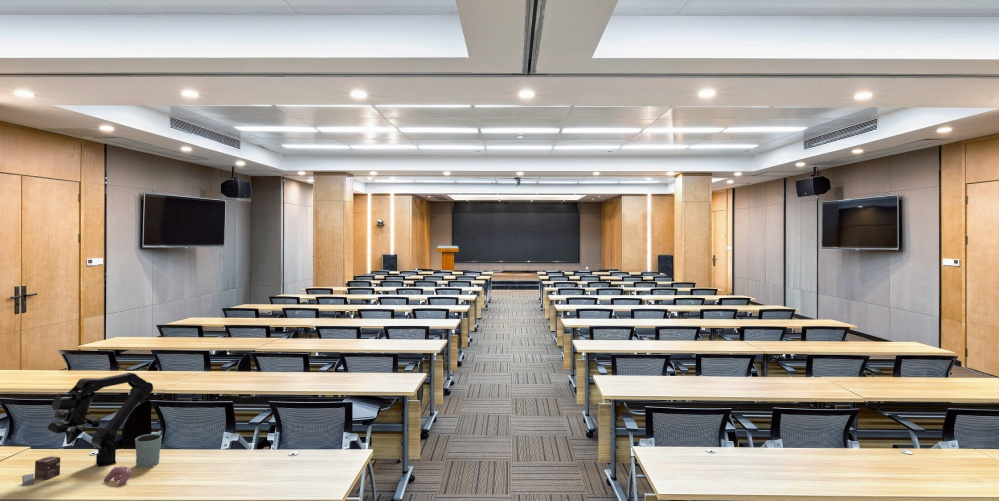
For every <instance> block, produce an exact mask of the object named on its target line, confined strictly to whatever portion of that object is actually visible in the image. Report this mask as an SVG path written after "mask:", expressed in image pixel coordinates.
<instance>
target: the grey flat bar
mask: <svg viewBox="0 0 999 501" xmlns="http://www.w3.org/2000/svg"><path fill="white" fill-rule="evenodd" d="M22 477H23V478H22V479H23V480H22V483H23V484H22V487H24V486H30V485H33V484H34V483H35V482H34V479H35V478H34V473H30V474H25V475H23V476H22Z"/></svg>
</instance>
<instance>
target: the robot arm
mask: <svg viewBox="0 0 999 501" xmlns="http://www.w3.org/2000/svg"><path fill="white" fill-rule="evenodd" d="M123 384H128V386H130V387H131V389H130V390H129V396H128V398H127V399H126V400H125V402H124V403H123V404H122V405H121V407H120V408H119V409H118V411H117V412H116V413H115V414H114V415H113V417H112V418H111V420H110V421H109V423H107V425H106V426H104V427H100V424H101V421H100V419H98V418H96V417H94V416H88V415H90V414H91V412H90V411H89V410H90V406H91V404H92V401H93V400H97V399H99V397H98V396H97V394H96V393H95V392H98V391H100V390H102V389H104V388H107V387H113V386H117V385H123ZM153 390H154V385H153V383H152V382H150V381H147V380H145V379H144V378H141V377H140V376H139V375H138V374H136V373H133V372H126V373H121V374H117V375H111V376H105V377H85V378H80V379H78V381H77V382H76V384H74V386H73V387H72V388H71V389H70V390H69V391H68V392H67V393H61V392H60V393H59V392H58V393H57V395H56V396H55V397H54V399H53V401H52V403H51V407H52V410H53V411H55V413H54V419H58V420H57V421H52V422H50V423H49V424H48V426H47V430H49V431H51V432H53V433H54V434H62V433H65V438H66V439H65V442H66V445H68V446H69V445H72V444H73V442H74V441H75V440H76V439H77V438H78V437H79V436H80V435H82V433H83V432H85V431H87V428H86V426H88V425H89V426H91V428H97V430H96V431H95V433H94V434H92V435H91V436H92V438H91V440H90V441H91V444H92V446H94V448H95V450H97V452H96V454H95V464H96V465H97V467H105V466H109V465H110V466H111V465H114V464H117V461H116V459H117V458H116V456H117V455H116V452H117V450H119V447H120V443H118V442H117V441H116V439H117V435H118V431H119V429H120V428H121V427H122V425H123V424H124V423H125V421H126V420H127V419H128V418H129V416H130V414H131V413H132V412H133V411H134V409H135V408H136V407H137V406H138V404H139V403H140V402H141V401H143V400H144V399H146V398H148V396H149V395H150V394H151V393H152V392H153ZM87 416H88V417H87ZM60 420H62V421H63V422H62V421H60ZM64 422H66V423H64Z"/></svg>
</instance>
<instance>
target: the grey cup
mask: <svg viewBox="0 0 999 501" xmlns="http://www.w3.org/2000/svg"><path fill="white" fill-rule="evenodd" d="M162 438H163V435H161V434H158V433H150V434H149V433H148V434H143V435H140V436H137V437H136V438H134V441H135V442H134V443H135V456H136V458H135V463H136V464H135V466H136V467H137V468H139V467H147V468H151V467H150V466H152V467H154V466H153V465H155V466H157V465H159V463H160V452H161V445H162ZM156 464H157V465H156Z"/></svg>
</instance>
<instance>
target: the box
mask: <svg viewBox="0 0 999 501" xmlns="http://www.w3.org/2000/svg"><path fill="white" fill-rule="evenodd" d="M59 475H61V457H60V456H52V455H50V456H47V457H42V458H40V459H37V460H35V462H34V479H37V480H50V479H52V478H55V477H57V476H59Z"/></svg>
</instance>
